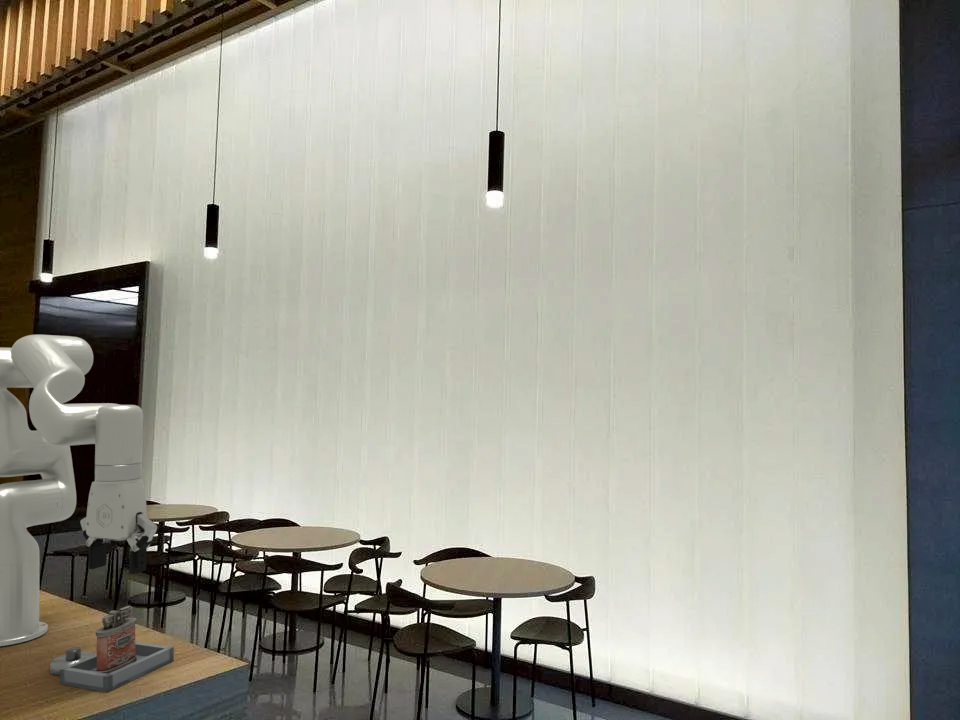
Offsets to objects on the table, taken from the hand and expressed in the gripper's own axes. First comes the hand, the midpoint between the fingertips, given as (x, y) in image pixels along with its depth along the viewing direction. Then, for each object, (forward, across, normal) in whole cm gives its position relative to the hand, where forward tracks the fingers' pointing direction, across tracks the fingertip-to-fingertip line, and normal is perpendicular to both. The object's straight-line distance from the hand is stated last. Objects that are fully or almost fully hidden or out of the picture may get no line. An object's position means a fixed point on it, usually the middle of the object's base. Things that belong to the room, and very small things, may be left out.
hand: (117, 569), depth 122 cm
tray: (+18, +1, 0) cm, 18 cm away
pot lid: (+18, -9, -1) cm, 20 cm away
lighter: (+17, 0, 0) cm, 17 cm away
